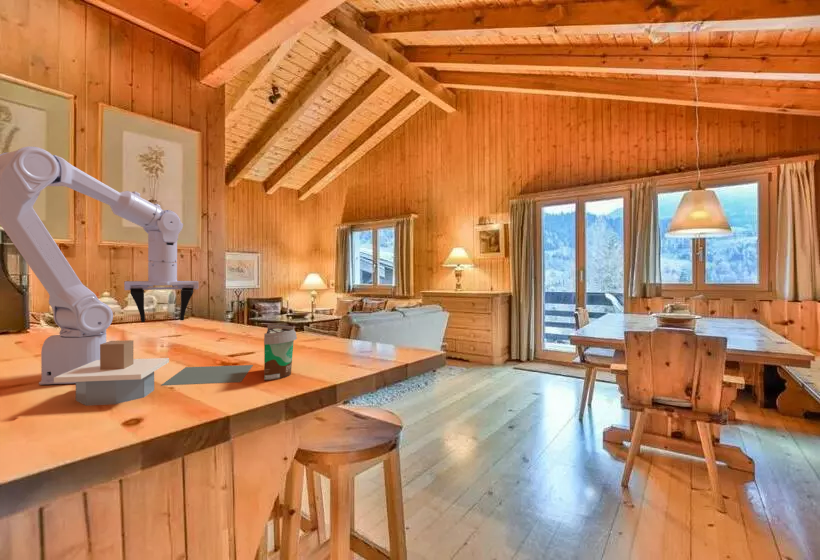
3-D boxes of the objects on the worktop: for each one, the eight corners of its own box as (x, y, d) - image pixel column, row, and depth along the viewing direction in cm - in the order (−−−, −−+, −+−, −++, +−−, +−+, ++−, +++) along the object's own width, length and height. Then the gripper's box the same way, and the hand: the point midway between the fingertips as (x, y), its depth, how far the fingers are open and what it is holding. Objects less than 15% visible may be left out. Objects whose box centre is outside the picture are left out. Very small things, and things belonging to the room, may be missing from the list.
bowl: (64, 409, 63) (64, 380, 63) (99, 390, 73) (99, 365, 73) (136, 405, 65) (136, 378, 65) (160, 387, 75) (160, 363, 75)
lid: (53, 382, 62) (53, 350, 62) (96, 364, 74) (96, 337, 74) (141, 379, 64) (140, 348, 64) (169, 362, 76) (169, 335, 76)
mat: (160, 387, 75) (160, 385, 75) (185, 369, 89) (185, 367, 89) (240, 384, 78) (240, 381, 78) (253, 367, 92) (253, 364, 92)
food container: (297, 383, 79) (297, 332, 79) (263, 385, 77) (264, 333, 77) (296, 368, 91) (296, 324, 91) (267, 370, 89) (267, 325, 89)
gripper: (123, 261, 86) (123, 324, 86) (199, 262, 94) (199, 321, 94) (125, 261, 92) (125, 321, 92) (197, 263, 100) (196, 317, 100)
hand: (162, 320), depth 94 cm, fingers open, 7 cm apart
